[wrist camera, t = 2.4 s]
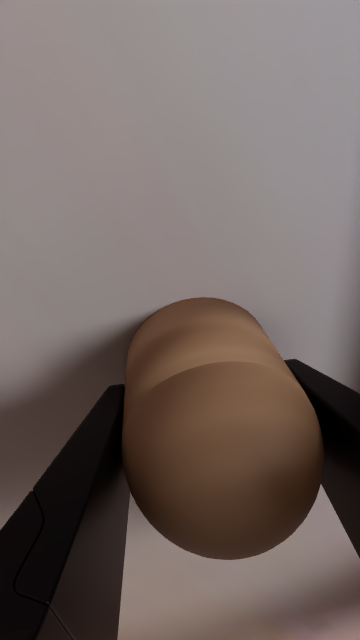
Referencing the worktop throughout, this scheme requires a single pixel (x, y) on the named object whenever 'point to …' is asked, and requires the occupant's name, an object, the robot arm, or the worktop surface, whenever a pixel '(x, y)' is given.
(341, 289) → the worktop surface
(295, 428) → the brown egg
